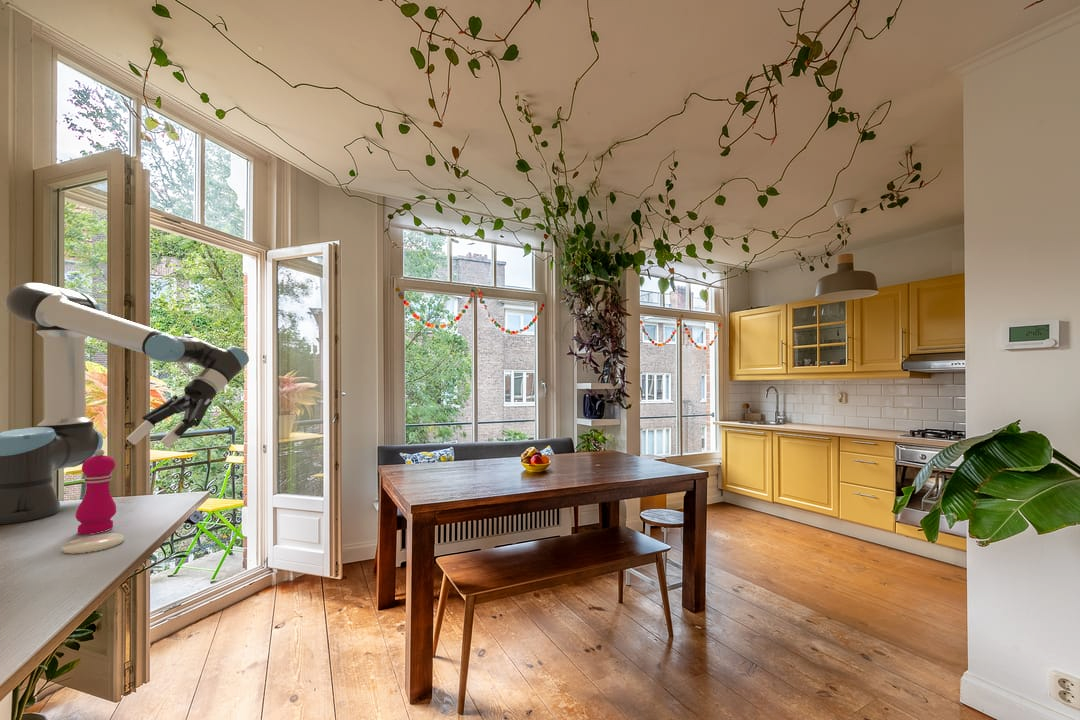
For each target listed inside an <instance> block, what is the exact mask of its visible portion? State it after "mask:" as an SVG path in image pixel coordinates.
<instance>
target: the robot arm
mask: <svg viewBox="0 0 1080 720" xmlns="http://www.w3.org/2000/svg"><path fill="white" fill-rule="evenodd" d="M5 305H6V308H7V309H8V310H7V311H9V312H10V313H11V315H13V317H15V318H17V319H18V320H20V321H24V322H26V323H31V324H36V325H35V327H36V331H35V332H36V334H38V335H39V336H41V337H42V338H43V350H44V351H43V357H44V358H43V360H44V361H43V362H44V363H43V365H44V366H43V367H44V368H43V369H44V371H43V373H44V419H43V420H42V421H41V422H39V423H37V426H36V427H34V426H33V427H24V428H17V429H9V430H5V431H2V432H0V525H7V524H8V525H9V524H15V523H23V522H28V521H33V520H38V519H43V518H47V517H50V516H52V515H55V514H56V515H57V514H58V513H59V512H60V511H61V503H60V500H58V496H57V492H56V491H55V488H54V485H53V475H54V473H53V472H54V471H58V470H63V469H67V468H75V467H77V466H81V465H83V463H84V461H85V460H87V459H88V458H90V457H93V456H96V455H95V451H96V450H99V449H102V450H103V445H104V439H103V435H102V433H101V432H99V431H98V429H96V428H94V421H93V419H91V418H89V417H88V416H87V410H86V409H87V407H86V405H87V404H86V403H87V402H86V400H87V399H86V397H87V395H86V393H87V391H86V351H85V350H86V343H85V341H86V338H87V337H90V338H93V339H96V340H100V341H102V342H106V343H109V344H112V345H116V346H117V347H118V346H119V347H123V348H125V349H128V350H131V351H134V352H139V353H141V354H144V355H147V356H148V357H150V358H151V359H152V360H155V361H159V362H163V363H171V362H172V363H186V364H187V363H188V364H189V363H190V364H194V365H197V366H199V367H201V368H203V369H202V371H201V372H200V373H198V374H197V375H196V376H195V377H194V379H192V380H191V381H190V382H189V383H188V384H186V386H185V387H184V389H183V391H184V394H183V395H182V396H180V397H179V396H178V395H176V394H175V395H173V396H172V397H171V398H169V399H168V400H167V401H165V402H164V403H162V404H160V405H159V406H157V407H155V408H154V409H153V410H151V411H149V412H147V414H145V415H143V416H141V419H143V420H144V421H143V422H142V423H140V425H139V426H138V427H136V429H135V430H133V431H132V432H131V433H130V434H129V435H128V436H126V438H125V439H126V440H127V441H129V443H131V444H133V445H135V446H136V445H137V444H138V443H139V442H140V441H141V440H142V439H143V438H144V437H145V436H146V435H148V434H149V433H150V432H151V431H152V430H153V429H154V428H156V425H157V424H158V423H161V422H162V421H163V420H166V419H168V418H170V417H171V416H173V415H176V414H180V413H184V415H183V418H182V419H181V420H180V421H179V422H178V423H177V424H176V425H175V426H173V428H172V429H171V430H170V431H169V432H168V433H167V434H165V436H163V438H162V439H161V440H160V442H161V444H163V445H164V446H165V447H167V448H171V446H173V445H174V443H176V442H177V441H178V440H179V438H180V437H182V435H184V434H185V433H186V432H187V430H188V429H191V428H193V427H198V426H200V424H201V423H202V420H203V418H204V416H205V414H206V412H207V410H208V408H209V407H210V405H211V404H212V403H213V401H212V400H213V399H214V398H215V397H216V396H217V394H219V393H220V392H221V391H223V389H224V388H225V387H226V386H227V385H228V384H229V383H230V381H231V380H233V379H234V378H235V377H237V375H238V374H239V373H240V372H242V370H243V369H244V368H245V367H246V366H247V364H248V363H249V361H250V358H249V355H248V353H247V352H246V351H245V350H244V349H243V348H241V347H239V346H237V345H229V346H228V347H226V348H225V349H223V348H221V347H218V346H216V345H214V344H211V343H209V342H207V341H205V340H202V339H201V338H199V337H197V336H193V335H190V334H188V333H184V334H182V335H179V336H178V335H174V334H170V333H167V332H163V331H161V330H157V329H154V328H152V327H149V326H146V325H143V324H140V323H136V322H134V321H131V320H127V319H124V318H121V317H118V316H116V315H112V314H110V313H106V312H103V311H101V307H100V306H99V305H100V304H98V302H97V301H96V299H94V297H92V296H91V295H89V294H87V293H83V292H81V291H79V290H75V289H70V288H69V289H68V288H63V287H59V286H54V285H51V284H47V283H41V282H26V283H22V284H19V285H17V286H14V287H13V288H12V289H11V290H10V291H9V292H8V293H7V296H6V299H5Z"/></svg>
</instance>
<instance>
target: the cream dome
mask: <svg viewBox="0 0 1080 720" xmlns="http://www.w3.org/2000/svg"><path fill="white" fill-rule="evenodd" d="M123 541H124V542H125V535H124V534H122V533H115V532H114V533H113V532H112V533H111V532H110V533H102V534H100V533H99V534H96V535H95V534H93V535H90V536H89V535H88V536H84V537H80V538H77V539H74V540H73V539H72V540H70V541H67V542H66V543H64V544H63V545H62V550H61V551H63V552H64V554H66V553H70V554H69V555H76V554H75V553H80V554H86V553H85V552H88V553H92V552H91V551H94V552H98V550H99V551H103V550H102V549H104V550H108V549H110V548H114V547H116V545H117V546H119V545H121V544H123V543H124V542H123ZM122 542H123V543H122ZM120 543H121V544H120ZM118 544H119V545H118ZM107 548H108V549H107ZM63 552H62V553H63Z"/></svg>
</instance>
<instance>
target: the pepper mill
mask: <svg viewBox="0 0 1080 720" xmlns="http://www.w3.org/2000/svg"><path fill="white" fill-rule="evenodd" d="M95 455H96V456H93V457H90V458H88V459H87V460H85V461H84V463H83V464H81V465H82V466H81V471H82V473H83V474H85V476H84V478H83V479H84V481H83V483H85V484H86V485H85V486H86V487H85V493H84V497H83V498H82V501H80V504H79V505H78V507H77V509H76V512H75V519H76V520H77V521H78V522H79V523H80V524H78V526H77V534H78V535H82V534H87V535H92V534H91V533H96V534H98V533H97V532H101V531H105V530H108V529H110V528H112V527H113V528H114V521H113V519H112V518H113V517H114V516H115V514H116V513H117V506H116V502H115V500H114V498H113V497H112V494H111V491H110V482H111V481H112V480H113V477H112V476H113V474H112V473H111V472H113V471H114V470H115V468H116V460H115V459H114V458H113V457H112V456H109V455H105V450H104V449H103V448H102V449H99V450H96V451H95ZM113 528H112V529H113ZM110 530H111V529H110ZM108 531H109V530H108ZM105 532H106V531H105ZM101 533H102V532H101Z"/></svg>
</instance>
